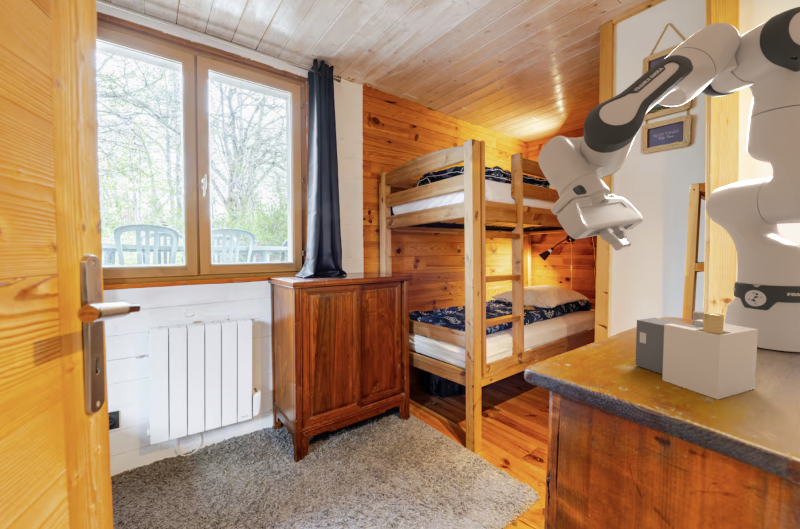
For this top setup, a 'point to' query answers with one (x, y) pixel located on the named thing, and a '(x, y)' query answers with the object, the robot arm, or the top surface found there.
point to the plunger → (713, 323)
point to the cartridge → (652, 342)
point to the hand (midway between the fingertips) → (624, 248)
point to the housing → (710, 359)
